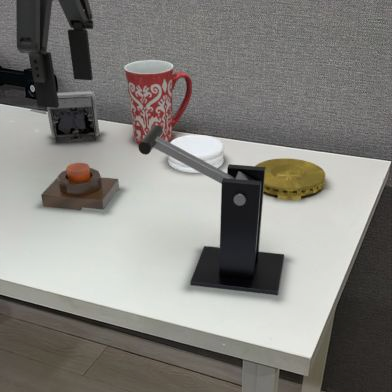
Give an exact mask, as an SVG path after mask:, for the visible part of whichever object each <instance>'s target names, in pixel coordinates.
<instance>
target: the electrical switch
mask: <svg viewBox="0 0 392 392" xmlns="http://www.w3.org/2000/svg"><path fill="white" fill-rule="evenodd" d="M57 96H58V102H59V107H57V108H52V107H46V112H47V117H48V122H49V128H50V134H51V137H52V138H53V139H55V143H73V142H82V141H84V142H85V141H97V137H98V136H99V135H100V127H99V120H98V119H99V117H98V111H97V110H98V109H97V100H96V94H95V92H93V91H92V90H88V91H70V92H69V91H68V92H57Z"/></svg>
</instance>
